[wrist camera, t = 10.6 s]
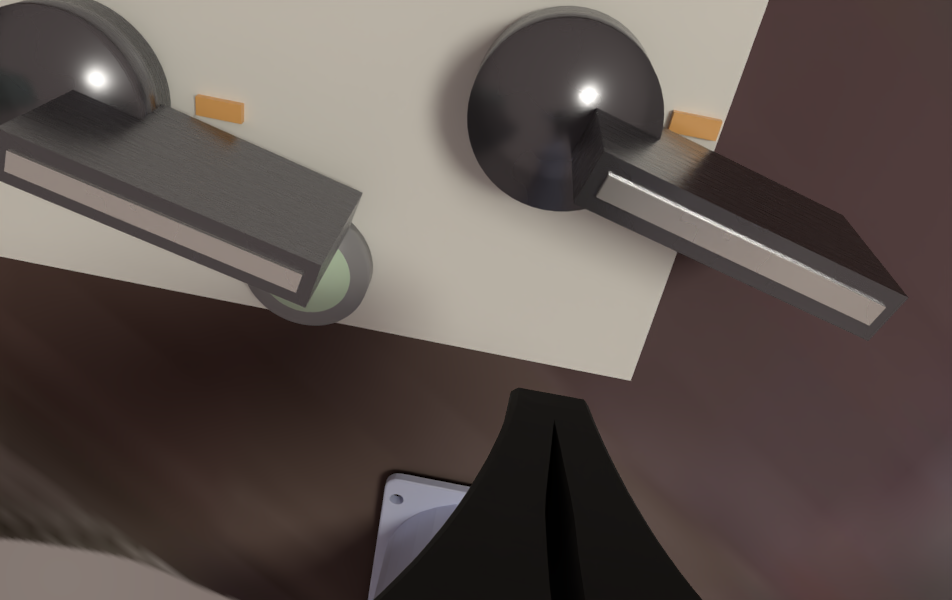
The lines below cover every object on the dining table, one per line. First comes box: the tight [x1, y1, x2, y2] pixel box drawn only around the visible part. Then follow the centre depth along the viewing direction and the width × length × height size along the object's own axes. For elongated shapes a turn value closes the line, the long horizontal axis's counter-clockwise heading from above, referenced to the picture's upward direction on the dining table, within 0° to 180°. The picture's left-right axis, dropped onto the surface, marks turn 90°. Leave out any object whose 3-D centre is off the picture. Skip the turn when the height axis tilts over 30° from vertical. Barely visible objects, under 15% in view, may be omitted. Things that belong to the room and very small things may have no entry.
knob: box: [467, 6, 908, 341], centre depth 16 cm, size 10×4×4 cm, turn 66°
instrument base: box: [0, 0, 769, 381], centre depth 19 cm, size 14×20×2 cm
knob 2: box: [0, 0, 363, 308], centre depth 17 cm, size 10×4×4 cm, turn 66°
